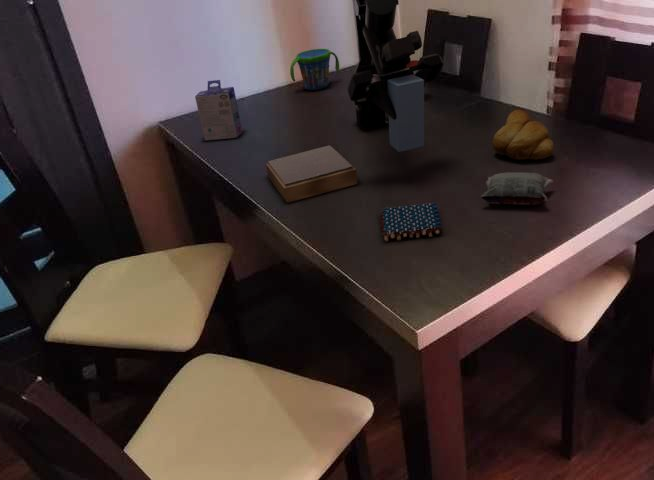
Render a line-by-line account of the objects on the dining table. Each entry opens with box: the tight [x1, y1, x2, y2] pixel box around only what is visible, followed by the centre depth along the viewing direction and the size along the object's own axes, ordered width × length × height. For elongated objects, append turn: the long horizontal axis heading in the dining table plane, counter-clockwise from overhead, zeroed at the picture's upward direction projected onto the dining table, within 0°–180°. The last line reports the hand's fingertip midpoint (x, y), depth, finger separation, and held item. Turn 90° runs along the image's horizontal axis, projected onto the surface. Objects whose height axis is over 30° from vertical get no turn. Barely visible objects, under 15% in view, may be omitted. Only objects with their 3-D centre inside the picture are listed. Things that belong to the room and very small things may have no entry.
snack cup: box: [289, 48, 340, 91], centre depth 193 cm, size 16×10×10 cm
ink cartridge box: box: [194, 79, 244, 142], centre depth 169 cm, size 10×6×14 cm, turn 79°
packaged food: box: [480, 171, 554, 206], centre depth 116 cm, size 9×12×5 cm
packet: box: [387, 74, 425, 153], centre depth 125 cm, size 6×5×13 cm
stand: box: [265, 145, 358, 204], centre depth 138 cm, size 16×16×4 cm
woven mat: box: [380, 202, 443, 243], centre depth 115 cm, size 10×11×2 cm
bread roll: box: [492, 108, 555, 161], centre depth 130 cm, size 13×10×8 cm
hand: (408, 115), depth 124 cm, fingers closed on packet, 5 cm apart
